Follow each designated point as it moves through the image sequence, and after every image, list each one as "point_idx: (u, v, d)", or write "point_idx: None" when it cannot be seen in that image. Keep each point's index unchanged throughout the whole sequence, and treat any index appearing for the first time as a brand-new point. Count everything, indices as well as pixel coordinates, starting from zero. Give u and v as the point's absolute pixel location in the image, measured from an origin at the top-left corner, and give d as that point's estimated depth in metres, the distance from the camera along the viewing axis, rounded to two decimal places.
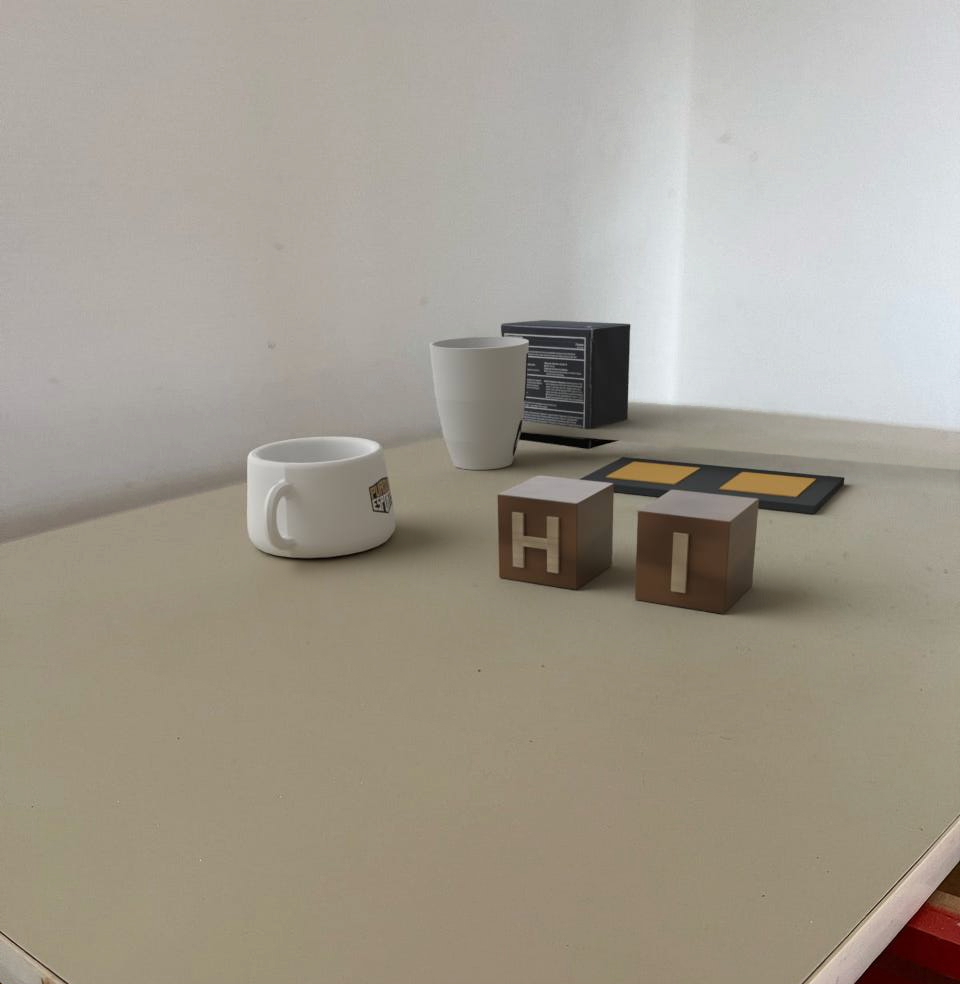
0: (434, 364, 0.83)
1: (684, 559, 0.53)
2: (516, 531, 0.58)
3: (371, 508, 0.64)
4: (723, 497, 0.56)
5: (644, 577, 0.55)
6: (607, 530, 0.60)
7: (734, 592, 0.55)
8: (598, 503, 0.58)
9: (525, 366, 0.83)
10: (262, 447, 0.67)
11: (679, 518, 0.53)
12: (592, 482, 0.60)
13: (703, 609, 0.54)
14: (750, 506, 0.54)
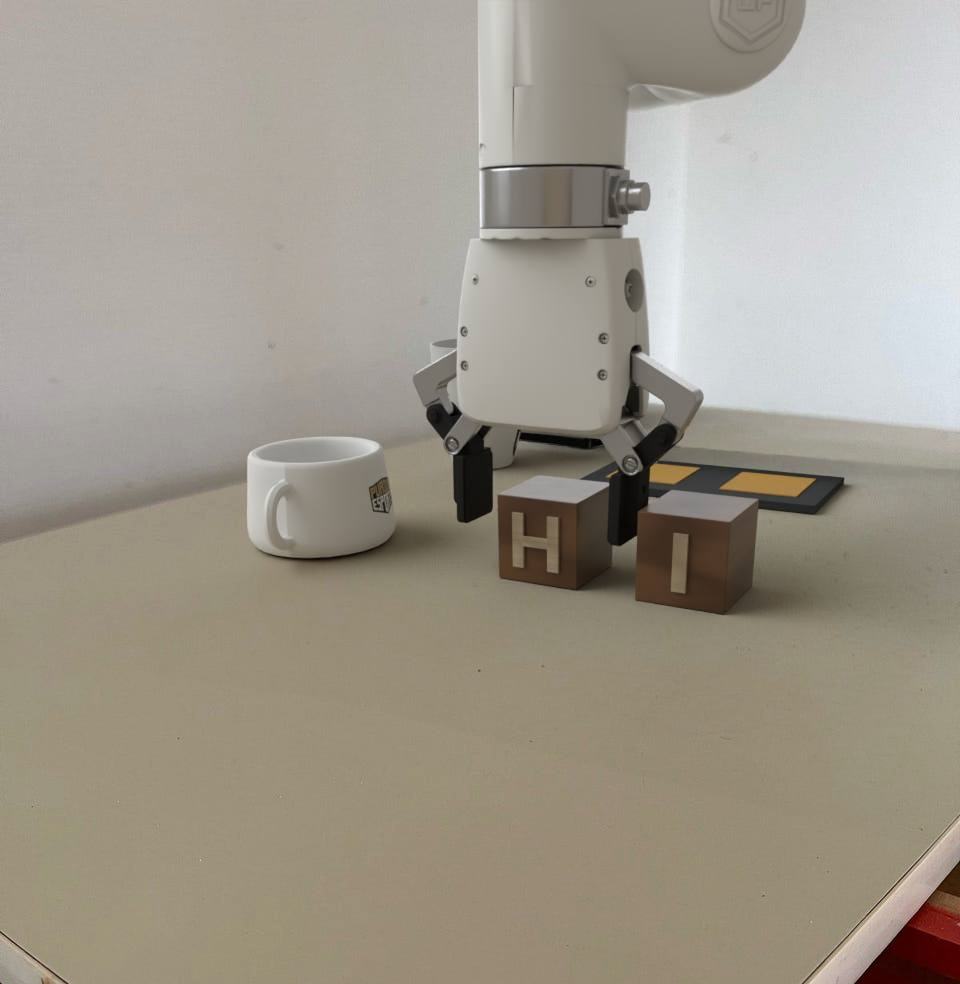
0: None
1: (684, 559, 0.53)
2: (516, 531, 0.58)
3: (371, 508, 0.64)
4: (723, 497, 0.56)
5: (644, 577, 0.55)
6: None
7: (734, 593, 0.55)
8: (598, 502, 0.58)
9: None
10: (262, 447, 0.67)
11: (679, 518, 0.53)
12: (592, 482, 0.60)
13: (703, 609, 0.54)
14: (750, 506, 0.54)
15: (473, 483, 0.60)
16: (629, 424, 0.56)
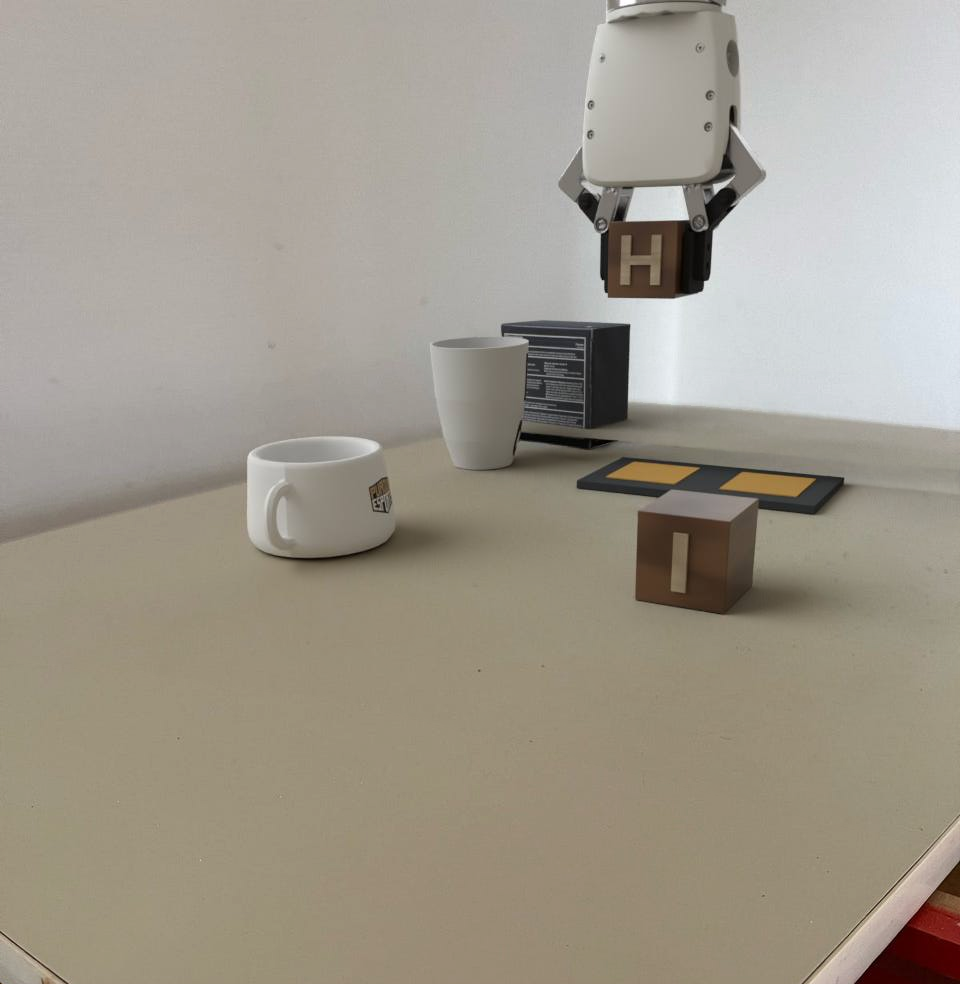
0: (434, 364, 0.83)
1: (684, 559, 0.53)
2: (625, 251, 0.71)
3: (371, 508, 0.64)
4: (723, 497, 0.56)
5: (644, 577, 0.55)
6: None
7: (734, 592, 0.55)
8: None
9: (525, 366, 0.83)
10: (262, 447, 0.67)
11: (679, 518, 0.53)
12: None
13: (703, 609, 0.54)
14: (750, 506, 0.54)
15: None
16: (707, 191, 0.70)
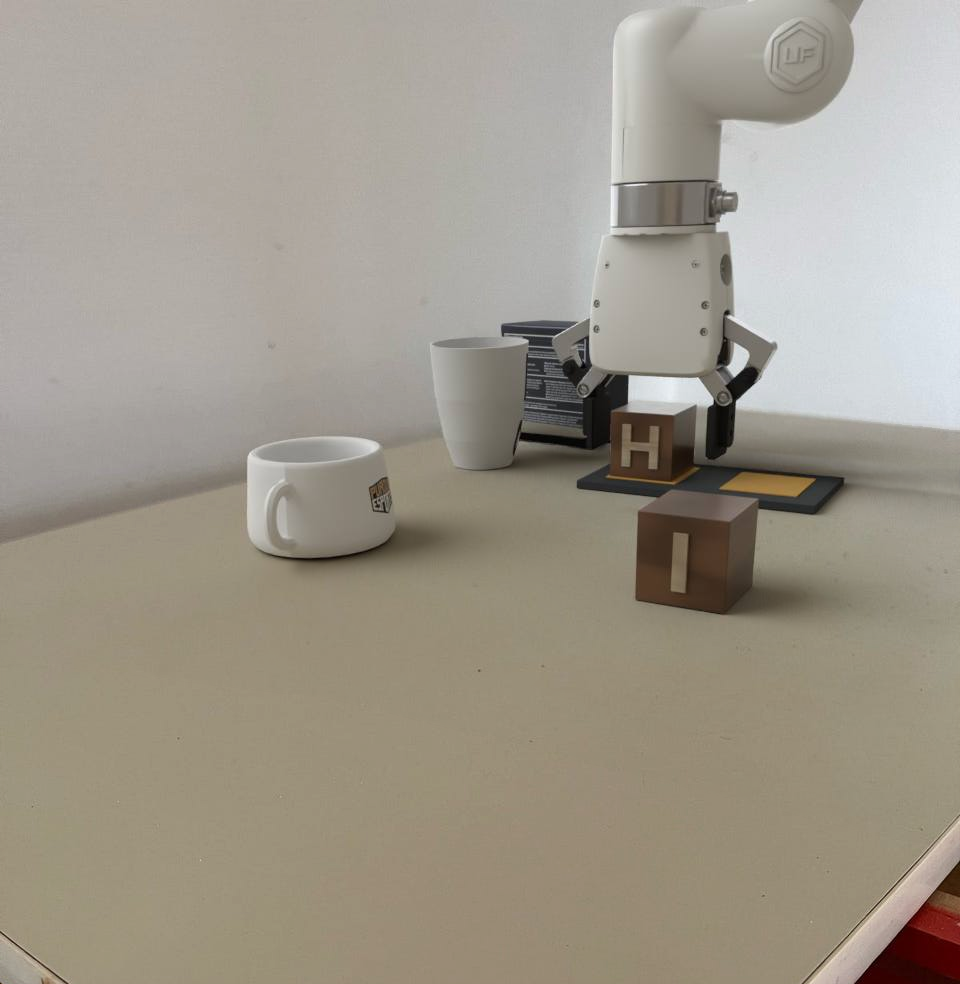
0: (434, 364, 0.83)
1: (684, 559, 0.53)
2: (625, 438, 0.77)
3: (371, 508, 0.64)
4: (723, 497, 0.56)
5: (644, 577, 0.55)
6: (691, 440, 0.79)
7: (734, 592, 0.55)
8: (686, 417, 0.78)
9: (525, 366, 0.83)
10: (262, 447, 0.67)
11: (679, 518, 0.53)
12: (680, 403, 0.79)
13: (703, 609, 0.54)
14: (750, 506, 0.54)
15: (598, 419, 0.80)
16: (720, 369, 0.76)
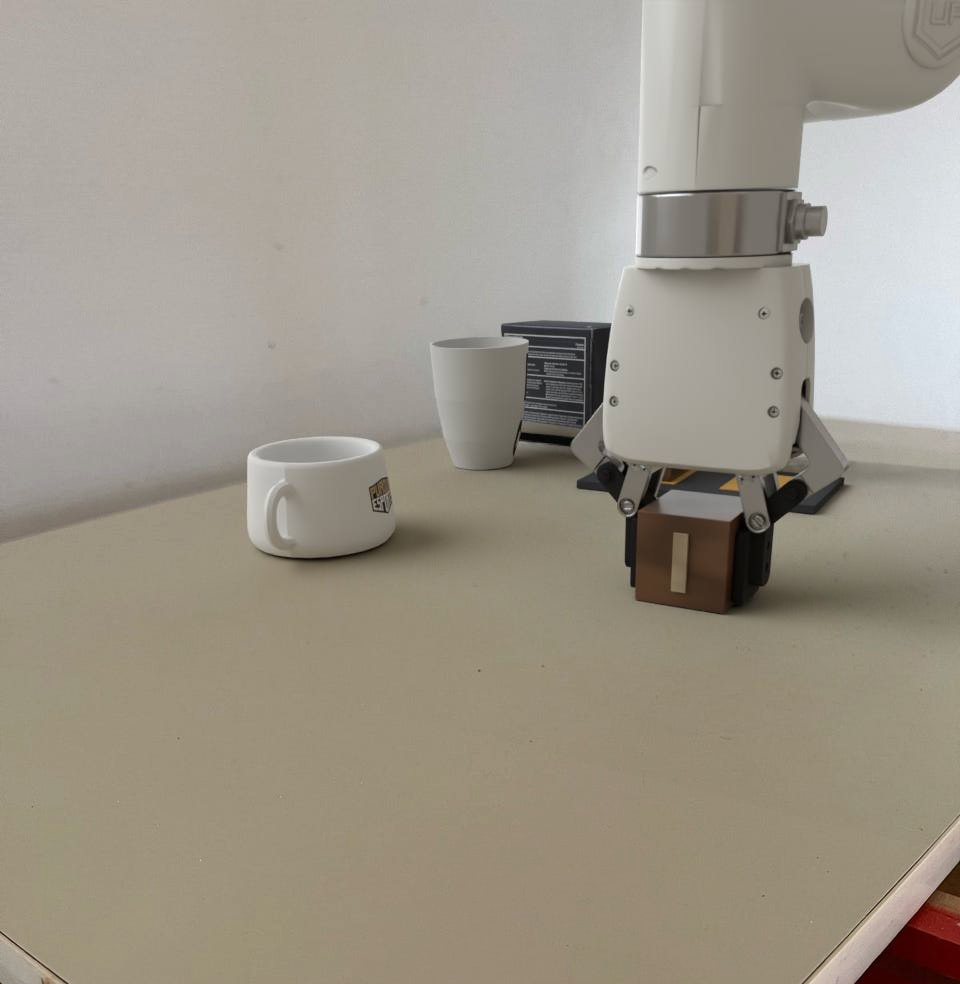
0: (434, 364, 0.83)
1: (684, 559, 0.53)
2: None
3: (371, 508, 0.64)
4: (723, 497, 0.56)
5: (644, 577, 0.55)
6: None
7: None
8: None
9: (525, 366, 0.83)
10: (262, 447, 0.67)
11: (679, 518, 0.53)
12: None
13: (703, 609, 0.54)
14: None
15: None
16: (767, 474, 0.53)
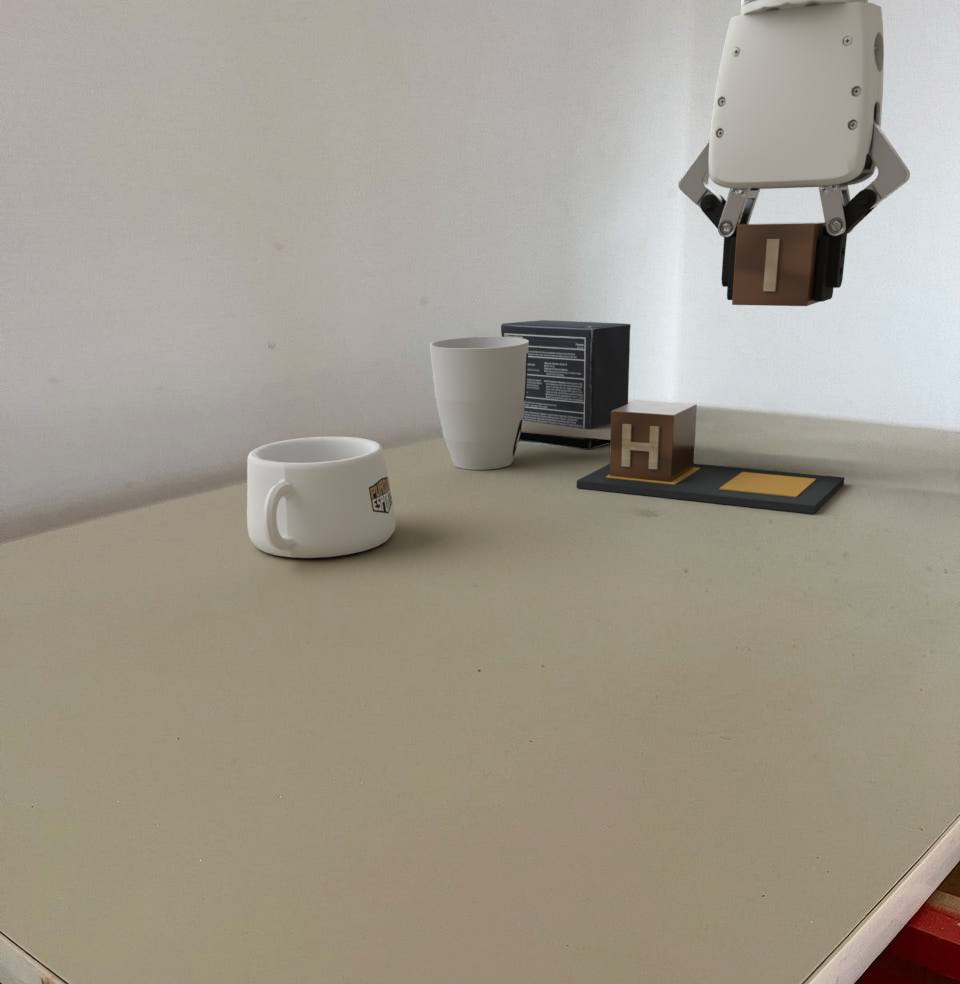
0: (434, 364, 0.83)
1: (775, 261, 0.67)
2: (625, 438, 0.77)
3: (371, 508, 0.64)
4: (803, 222, 0.69)
5: (740, 283, 0.68)
6: (691, 440, 0.79)
7: None
8: (686, 417, 0.78)
9: (525, 366, 0.83)
10: (262, 447, 0.67)
11: (772, 226, 0.66)
12: (680, 403, 0.79)
13: (790, 304, 0.67)
14: None
15: None
16: (842, 193, 0.66)
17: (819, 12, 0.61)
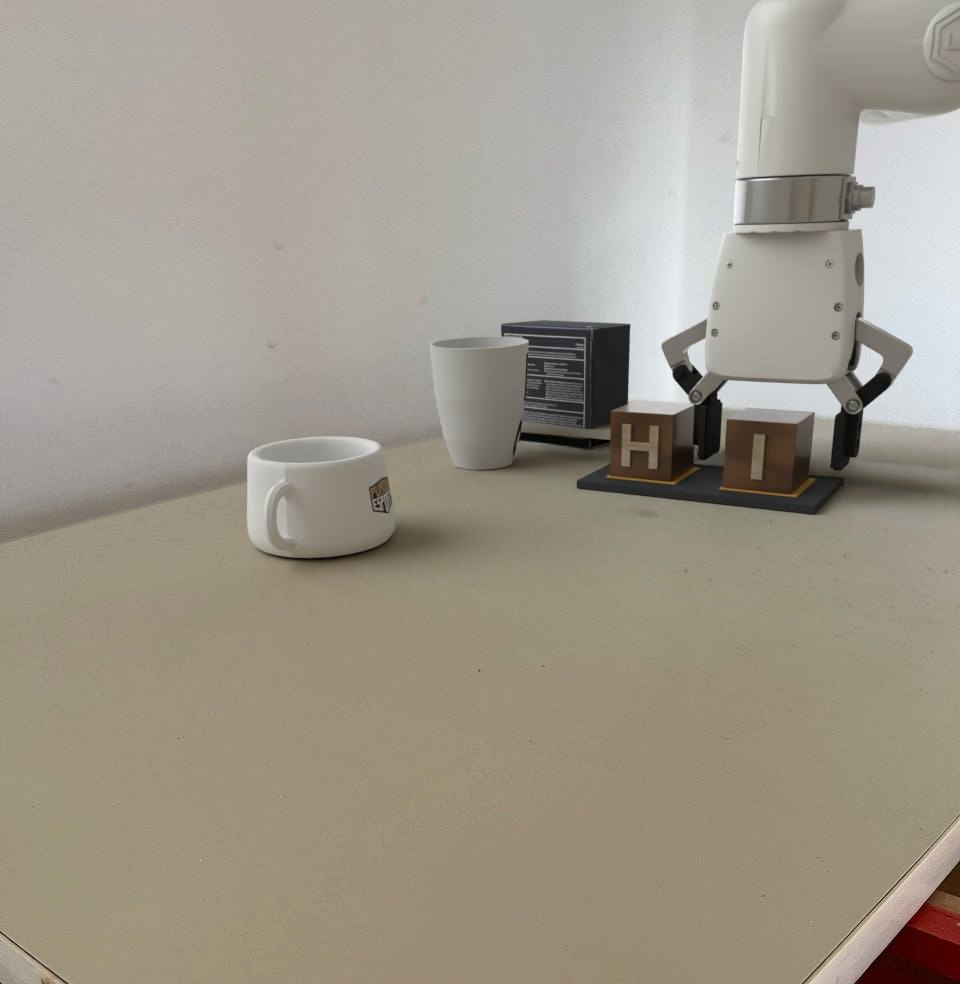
0: (434, 364, 0.83)
1: (761, 453, 0.73)
2: (625, 438, 0.77)
3: (371, 508, 0.64)
4: (788, 411, 0.75)
5: (730, 469, 0.74)
6: (691, 439, 0.79)
7: (797, 480, 0.74)
8: (686, 417, 0.78)
9: (525, 366, 0.83)
10: (262, 447, 0.67)
11: (758, 423, 0.72)
12: (680, 403, 0.79)
13: (775, 491, 0.73)
14: (809, 416, 0.74)
15: (711, 427, 0.76)
16: (847, 375, 0.71)
17: (804, 238, 0.67)
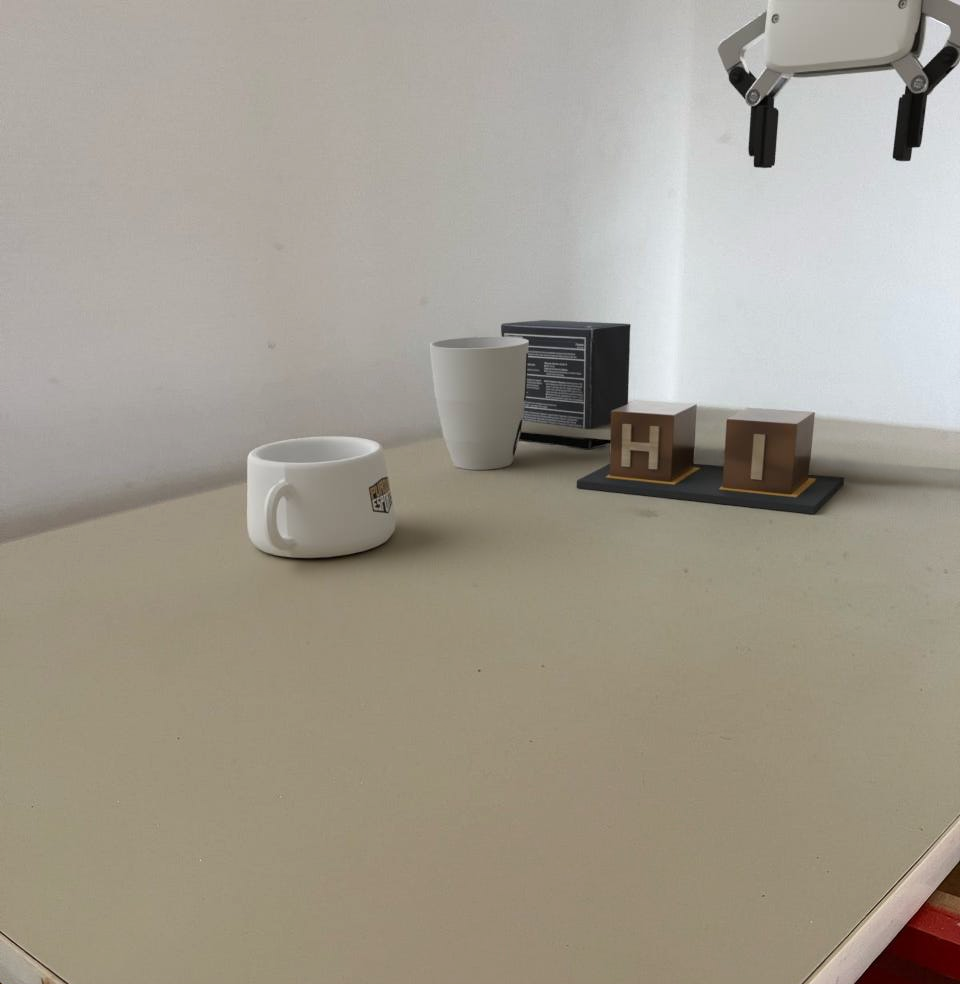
0: (434, 364, 0.83)
1: (761, 453, 0.73)
2: (625, 438, 0.77)
3: (371, 508, 0.64)
4: (788, 411, 0.75)
5: (730, 469, 0.74)
6: (691, 440, 0.79)
7: (797, 480, 0.74)
8: (686, 417, 0.78)
9: (525, 366, 0.83)
10: (262, 447, 0.67)
11: (758, 423, 0.72)
12: (680, 403, 0.79)
13: (775, 491, 0.73)
14: (809, 416, 0.74)
15: (768, 131, 0.74)
16: None
17: None
